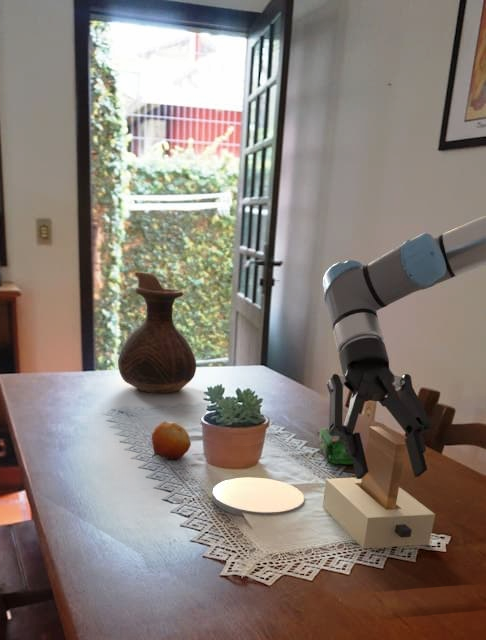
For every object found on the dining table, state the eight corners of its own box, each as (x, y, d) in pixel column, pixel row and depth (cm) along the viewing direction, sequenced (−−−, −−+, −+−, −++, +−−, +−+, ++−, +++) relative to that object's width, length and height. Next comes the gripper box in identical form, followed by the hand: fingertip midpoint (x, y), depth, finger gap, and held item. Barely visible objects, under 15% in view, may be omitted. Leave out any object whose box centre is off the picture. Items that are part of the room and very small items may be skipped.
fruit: (148, 440, 143) (168, 410, 139) (179, 462, 143) (200, 433, 140) (137, 452, 135) (158, 421, 132) (169, 475, 136) (191, 445, 132)
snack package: (346, 446, 151) (349, 423, 149) (361, 470, 137) (365, 445, 135) (314, 444, 151) (317, 421, 149) (326, 468, 137) (329, 443, 135)
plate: (285, 481, 128) (286, 475, 128) (317, 516, 114) (318, 510, 114) (203, 485, 125) (203, 478, 124) (225, 521, 111) (225, 514, 110)
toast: (365, 512, 114) (378, 426, 108) (390, 535, 106) (406, 444, 100) (356, 513, 114) (369, 426, 108) (381, 536, 106) (396, 444, 100)
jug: (203, 383, 199) (208, 276, 188) (184, 400, 180) (189, 282, 168) (132, 376, 204) (133, 270, 192) (106, 392, 184) (106, 276, 173)
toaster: (380, 508, 119) (385, 476, 117) (435, 555, 103) (442, 519, 101) (321, 511, 116) (325, 478, 114) (368, 560, 100) (374, 523, 98)
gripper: (410, 361, 117) (443, 481, 109) (291, 361, 112) (316, 486, 104) (432, 335, 111) (468, 461, 102) (306, 334, 106) (334, 466, 98)
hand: (391, 474), depth 103 cm, fingers open, 9 cm apart
